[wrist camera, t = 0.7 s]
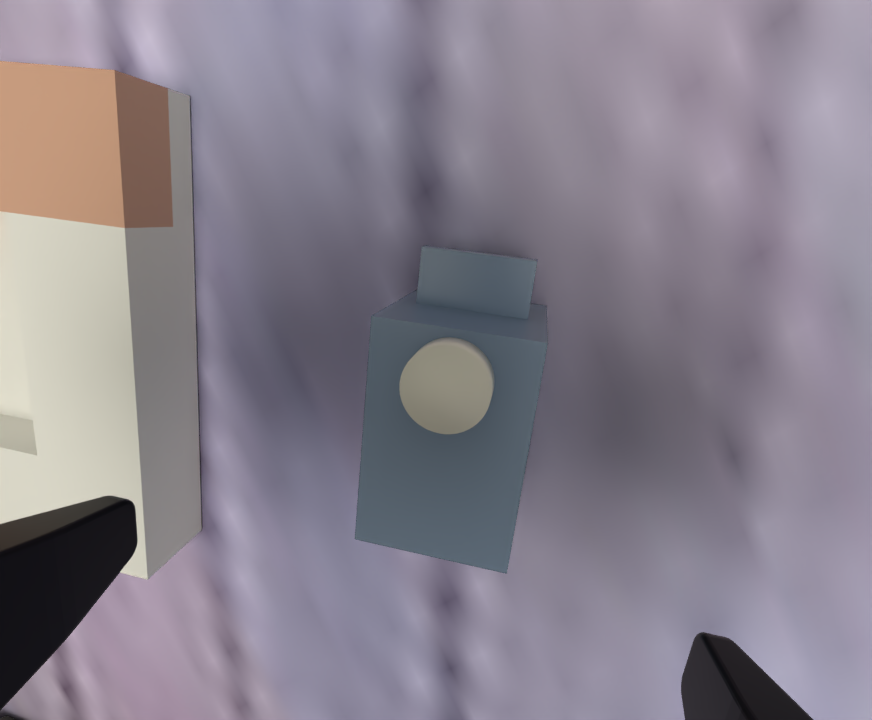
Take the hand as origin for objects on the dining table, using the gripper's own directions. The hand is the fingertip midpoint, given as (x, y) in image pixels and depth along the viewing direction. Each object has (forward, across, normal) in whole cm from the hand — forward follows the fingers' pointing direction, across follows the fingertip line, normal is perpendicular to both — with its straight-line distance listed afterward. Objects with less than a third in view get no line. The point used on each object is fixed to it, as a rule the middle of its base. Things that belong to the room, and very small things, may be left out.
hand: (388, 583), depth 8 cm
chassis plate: (+9, +17, 0) cm, 19 cm away
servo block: (+10, 0, 0) cm, 10 cm away
